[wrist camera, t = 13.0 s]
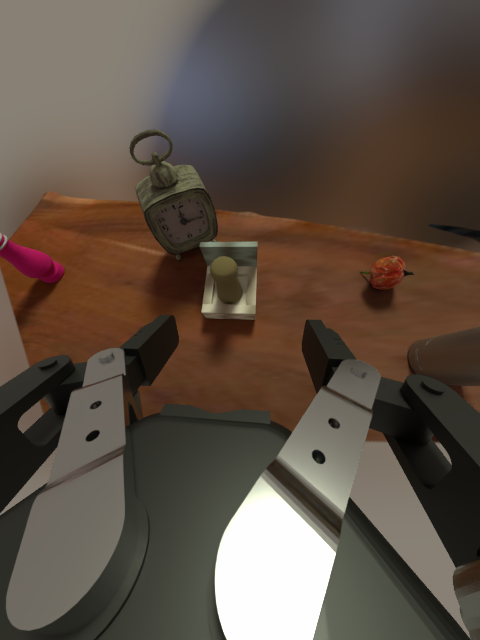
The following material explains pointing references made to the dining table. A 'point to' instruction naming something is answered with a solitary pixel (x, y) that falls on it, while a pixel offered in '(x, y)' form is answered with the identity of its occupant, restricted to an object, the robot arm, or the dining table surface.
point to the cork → (226, 279)
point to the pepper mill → (30, 261)
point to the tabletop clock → (175, 202)
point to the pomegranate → (387, 273)
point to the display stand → (246, 275)
